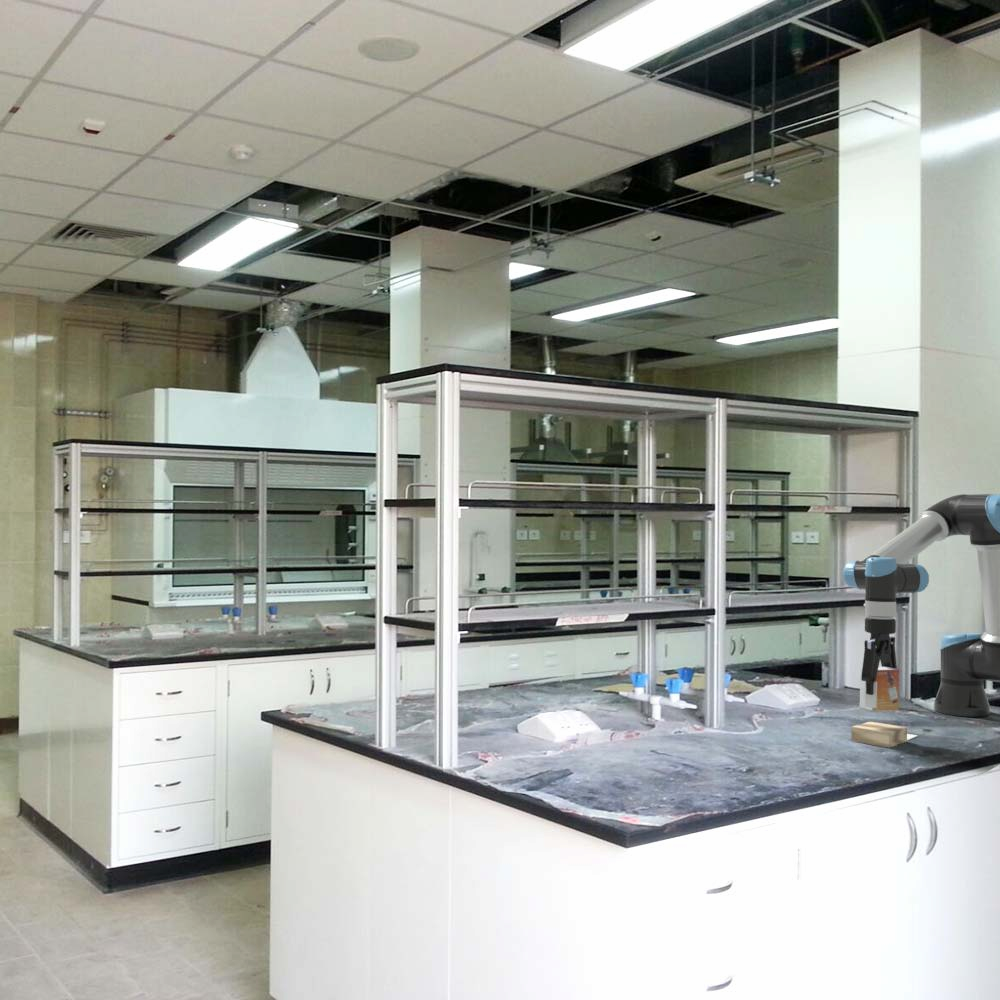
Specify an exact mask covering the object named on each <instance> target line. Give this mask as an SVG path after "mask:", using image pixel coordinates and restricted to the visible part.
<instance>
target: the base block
mask: <svg viewBox="0 0 1000 1000" xmlns="http://www.w3.org/2000/svg"><path fill="white" fill-rule="evenodd" d="M907 734H908V727H906V726H901V725H893V724H888V723H882V722H877V721H866V722H864V723H860V724H856V725H853V726H851V735H850V737H851V738H850V740H851V742H855V743H861V744H867V745H870V746H871V745H872V746H876V747H877V746H878V747H881V748H883V747H884V748H887V747H888V748H893V747H896V746H898V745H897V744H899V745H901V743H902V744H904V742H905V743H907V742H908V740H907ZM895 745H896V746H895Z"/></svg>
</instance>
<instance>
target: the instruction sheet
mask: <svg viewBox="0 0 1000 1000" xmlns="http://www.w3.org/2000/svg"><path fill="white" fill-rule="evenodd" d="M917 737H919V735H917V734H912V733H911V734H910V733H907V741H910V740H913V739H915V738H917Z"/></svg>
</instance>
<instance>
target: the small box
mask: <svg viewBox="0 0 1000 1000" xmlns="http://www.w3.org/2000/svg"><path fill="white" fill-rule="evenodd" d="M862 668H863V666H861V667H860V673H859V676H860V678H859V707H860V708H862V709H865V710H868V711H872V712H874V711H899V710H900V709H899V708H900V707H899V706H900V705H899V704H900V669H898V668H897V669H895V668H891V667H885V666H884V667H882V666H879V667H878V671H877V676H876V680H875V682H877V708H871V707H865V686H866V681H862V679H861V676H862Z"/></svg>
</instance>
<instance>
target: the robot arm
mask: <svg viewBox="0 0 1000 1000" xmlns="http://www.w3.org/2000/svg"><path fill="white" fill-rule="evenodd" d="M951 536H952V537H953V536H969V541H970V545H971V546H972V547H974V548H975V549H976V552H977V561H978V571H979V580H980V587H981V589H980V590H981V597H982V607H983V615H984V616H983V617H984V624H985V625H984V626H985V632H984V633H979V632H977V633H974V632H973V633H953V634H951V633H950V634H946V635H944V636H942V638H941V643H940V648H939V650H940V685H939V687H938V691H937V693H936V697H935V699H934V702H933V709H934V711H935V712H937V713H940V714H945V715H951V716H959V717H970V718H973V717H978V718H979V717H988V716H990V715H991V706H990V703H989V699H988V696H987V693H986V690H985V687H984V686H985V685H984V682H985V681H988V682H995V683H1000V494H997V493H983V494H980V493H979V494H975V493H974V494H965V493H963V494H955V495H952V496H949V497H946V498H945V499H944V498H943V500H940V501H938V502H936V503H934V504H933V505H931V506H930V507H928V508H927V509H926V510H924V511H923V512H921V513H920V514H919V515H918V517H917V520H916V521H915V522H913V523H912V524H910V525H909V527H907V528H905V529H904V530H903V531H901V532H900V533H899V534H897V535H896V536H895V537H893V538H892V539H890V540H889V541H888V542H886V543H885V544H883V545H882V546H881V547H880V548H878V549H877V550H875V551H874V552H872V553H871V554H869V556H867V557H866V558H865V559H863V560H861V561H860V560H851V561H849V562H847V563H846V564H845V566H844V567H843V570H842V578H843V581H844V583H845V584H846V586H848V587H849V588H853V589H858V590H865V598H864V603H863V606H864V615H865V616H866V617H865V618H864V631H865V632H866V633H868V634H870V638H869V640H867V639H865V640H864V652H863V661H862V667H863V668H862V676H861V679H862V681H866V686H865V707H871V708H877V682H875V680H876V676H877V671H878V667H880V666H879V665H880V664H881V667H884V666H885V667H891V668H895V669H898V668H897V667H898V666H897V656H896V637H895V636H890V635H892V634H893V635H894V634H895V633H896V631H897V620H896V619H895V617H896V616H897V594H916V593H921V592H923V591H924V590H926V589H927V587H928V586H929V582H930V575H929V573H928V571H927V569H926V567H924V566H922V565H921V564H917V563H916V564H915V563H908V562H911V560H912V559H914V558H915V557H917V556H918V555H919V554H921V553H922V552H923V551H924V550H926V549H927V548H928V547H930V546H932V545H933V544H934V543H935V542H941V541H942V542H943V540H946V539H947V538H948V537H951Z"/></svg>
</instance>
